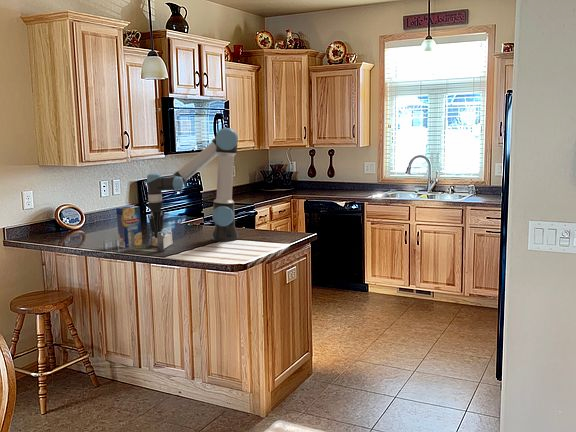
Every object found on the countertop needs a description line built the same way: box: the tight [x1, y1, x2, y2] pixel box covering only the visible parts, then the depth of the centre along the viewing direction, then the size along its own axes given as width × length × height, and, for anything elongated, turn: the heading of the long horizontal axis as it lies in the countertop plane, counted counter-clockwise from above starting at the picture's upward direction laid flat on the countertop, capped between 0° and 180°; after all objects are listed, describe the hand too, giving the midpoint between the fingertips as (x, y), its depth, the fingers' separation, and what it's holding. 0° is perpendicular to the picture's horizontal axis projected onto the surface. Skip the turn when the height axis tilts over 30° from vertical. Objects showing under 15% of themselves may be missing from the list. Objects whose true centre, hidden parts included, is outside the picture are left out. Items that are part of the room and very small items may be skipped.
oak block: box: [151, 234, 166, 247], centre depth 331 cm, size 8×8×5 cm
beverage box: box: [115, 205, 143, 249], centre depth 330 cm, size 7×11×22 cm, turn 138°
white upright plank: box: [163, 231, 173, 250], centre depth 322 cm, size 15×2×7 cm, turn 174°
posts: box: [133, 232, 165, 253], centre depth 315 cm, size 19×3×10 cm, turn 69°
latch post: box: [128, 232, 136, 252], centre depth 319 cm, size 2×3×10 cm, turn 159°
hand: (158, 243), depth 327 cm, fingers closed
